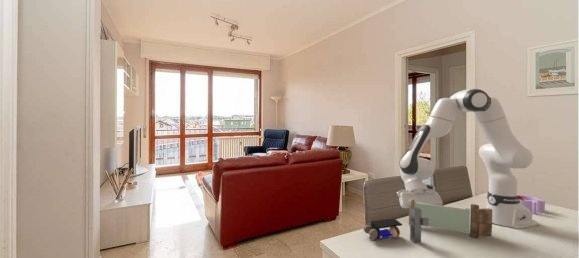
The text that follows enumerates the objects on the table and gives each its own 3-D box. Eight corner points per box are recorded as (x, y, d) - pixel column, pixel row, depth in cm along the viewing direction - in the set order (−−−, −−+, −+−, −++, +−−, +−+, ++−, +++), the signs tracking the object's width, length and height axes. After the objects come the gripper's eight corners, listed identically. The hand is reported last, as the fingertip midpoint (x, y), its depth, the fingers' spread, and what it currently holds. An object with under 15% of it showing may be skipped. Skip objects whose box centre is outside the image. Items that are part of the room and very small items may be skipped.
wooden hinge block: (487, 234, 118) (487, 203, 117) (493, 237, 115) (494, 205, 114) (468, 235, 116) (469, 204, 116) (473, 238, 113) (474, 206, 113)
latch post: (421, 239, 113) (422, 207, 112) (428, 243, 109) (428, 210, 108) (410, 240, 112) (410, 207, 111) (415, 244, 108) (416, 211, 107)
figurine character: (372, 247, 109) (404, 239, 112) (370, 229, 109) (402, 222, 112) (364, 239, 116) (394, 232, 119) (362, 222, 115) (393, 216, 118)
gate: (468, 233, 117) (469, 207, 116) (469, 235, 115) (470, 208, 114) (408, 223, 129) (409, 198, 128) (408, 224, 127) (408, 200, 126)
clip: (493, 203, 159) (494, 192, 159) (508, 202, 163) (509, 191, 162) (531, 215, 140) (532, 202, 140) (548, 213, 143) (548, 200, 143)
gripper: (398, 186, 132) (407, 213, 123) (437, 186, 133) (449, 212, 124) (394, 193, 137) (402, 218, 127) (432, 192, 138) (443, 217, 129)
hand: (426, 215), depth 126 cm, fingers closed
